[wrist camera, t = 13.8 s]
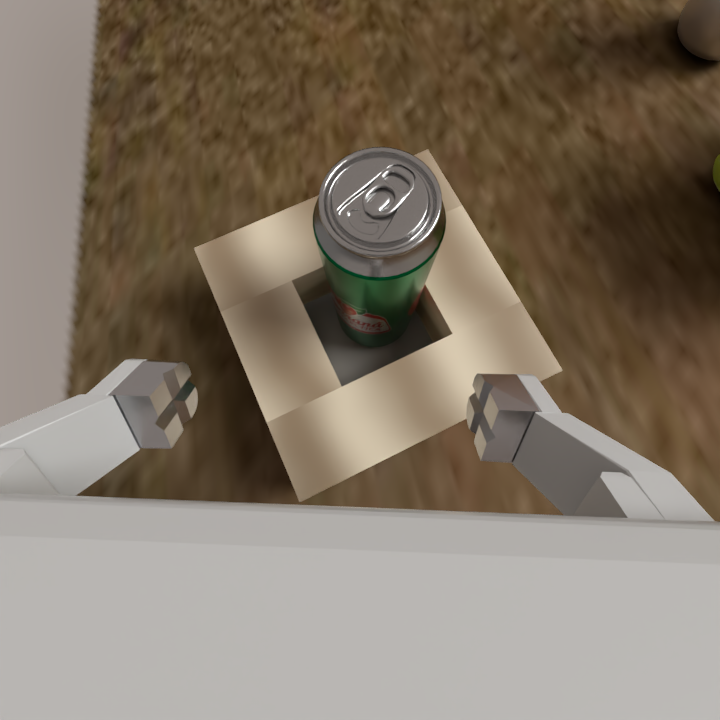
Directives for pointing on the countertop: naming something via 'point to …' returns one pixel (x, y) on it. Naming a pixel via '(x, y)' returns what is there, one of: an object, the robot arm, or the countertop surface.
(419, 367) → the can holder
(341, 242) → the soda can
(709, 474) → the countertop surface
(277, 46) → the countertop surface
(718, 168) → the flower pot
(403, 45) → the countertop surface
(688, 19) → the plastic bottle
